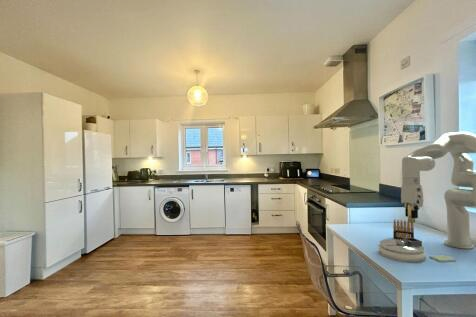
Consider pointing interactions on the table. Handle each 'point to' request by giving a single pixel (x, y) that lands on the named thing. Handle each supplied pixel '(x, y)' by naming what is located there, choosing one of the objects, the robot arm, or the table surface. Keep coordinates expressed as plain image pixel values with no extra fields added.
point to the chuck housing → (402, 256)
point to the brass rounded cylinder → (411, 220)
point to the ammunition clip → (402, 230)
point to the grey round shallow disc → (403, 246)
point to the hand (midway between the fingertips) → (411, 216)
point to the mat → (443, 258)
